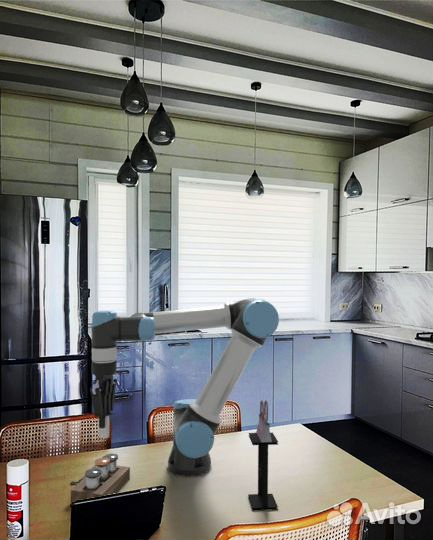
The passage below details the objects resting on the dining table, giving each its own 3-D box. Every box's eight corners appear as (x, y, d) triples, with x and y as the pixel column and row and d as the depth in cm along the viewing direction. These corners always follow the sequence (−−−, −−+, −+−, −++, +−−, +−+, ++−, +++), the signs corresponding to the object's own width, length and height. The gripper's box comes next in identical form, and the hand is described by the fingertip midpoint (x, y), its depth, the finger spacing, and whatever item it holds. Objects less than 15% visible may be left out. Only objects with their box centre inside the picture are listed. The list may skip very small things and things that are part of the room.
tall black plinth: (247, 494, 126) (248, 395, 127) (271, 493, 126) (271, 395, 127) (253, 513, 115) (254, 406, 116) (279, 512, 116) (279, 405, 117)
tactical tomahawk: (87, 491, 129) (88, 487, 129) (69, 486, 131) (69, 483, 131) (119, 461, 149) (119, 458, 149) (103, 457, 151) (103, 454, 151)
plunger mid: (111, 483, 129) (112, 458, 129) (104, 490, 124) (105, 464, 125) (99, 482, 130) (99, 456, 130) (91, 488, 125) (92, 462, 126)
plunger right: (120, 478, 134) (120, 454, 134) (113, 485, 130) (113, 460, 130) (107, 476, 135) (108, 452, 135) (100, 483, 131) (101, 458, 131)
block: (129, 479, 134) (129, 467, 135) (101, 509, 117) (101, 494, 117) (102, 475, 137) (102, 463, 137) (70, 504, 119) (70, 490, 120)
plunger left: (102, 495, 123) (103, 469, 123) (95, 503, 119) (95, 475, 119) (89, 493, 124) (90, 467, 125) (81, 501, 120) (82, 474, 120)
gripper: (103, 356, 135) (103, 428, 135) (81, 364, 123) (81, 444, 122) (124, 357, 133) (124, 430, 133) (104, 365, 121) (104, 446, 120)
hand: (104, 437), depth 127 cm, fingers closed
